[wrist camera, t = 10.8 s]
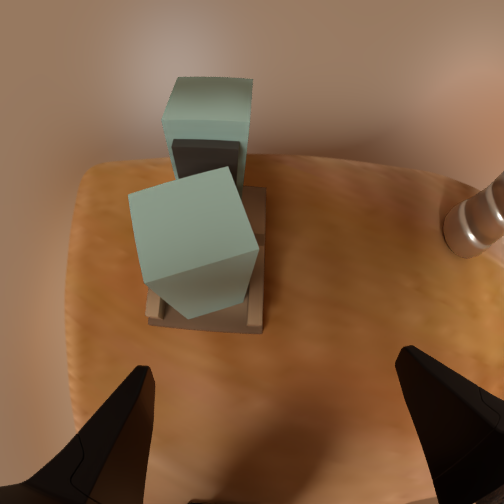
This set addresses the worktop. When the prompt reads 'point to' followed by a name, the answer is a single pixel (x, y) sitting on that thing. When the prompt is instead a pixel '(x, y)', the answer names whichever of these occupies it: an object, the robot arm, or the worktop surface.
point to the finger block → (194, 242)
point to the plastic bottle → (476, 221)
